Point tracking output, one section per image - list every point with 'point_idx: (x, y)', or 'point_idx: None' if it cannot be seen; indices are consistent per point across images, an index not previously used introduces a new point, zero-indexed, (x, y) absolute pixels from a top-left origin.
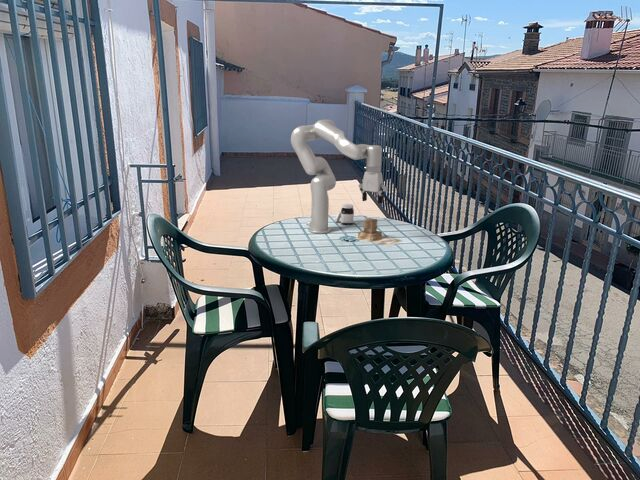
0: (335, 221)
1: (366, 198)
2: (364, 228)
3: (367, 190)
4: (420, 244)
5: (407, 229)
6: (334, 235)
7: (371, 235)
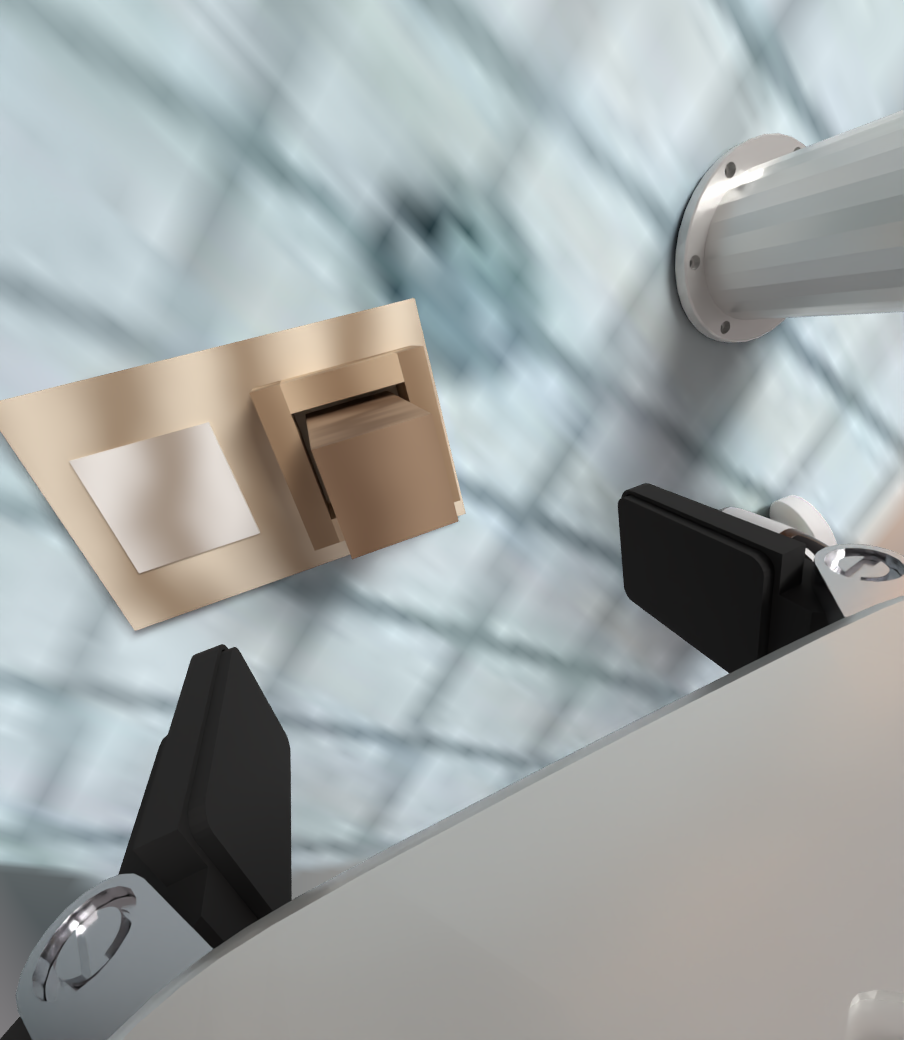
0: (779, 499)
1: (651, 607)
2: (397, 402)
3: (776, 673)
4: (12, 710)
5: (415, 795)
6: (599, 255)
7: (266, 388)
